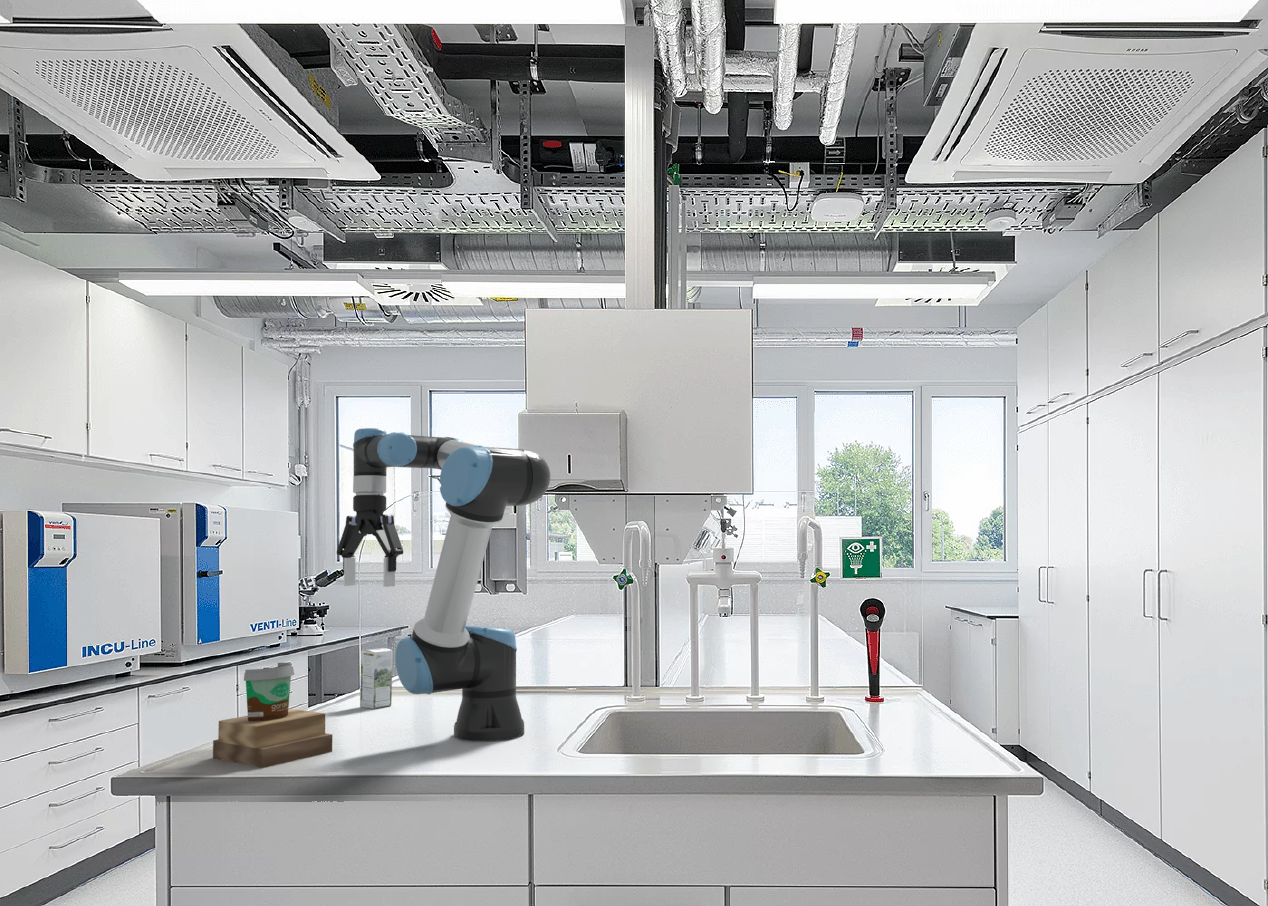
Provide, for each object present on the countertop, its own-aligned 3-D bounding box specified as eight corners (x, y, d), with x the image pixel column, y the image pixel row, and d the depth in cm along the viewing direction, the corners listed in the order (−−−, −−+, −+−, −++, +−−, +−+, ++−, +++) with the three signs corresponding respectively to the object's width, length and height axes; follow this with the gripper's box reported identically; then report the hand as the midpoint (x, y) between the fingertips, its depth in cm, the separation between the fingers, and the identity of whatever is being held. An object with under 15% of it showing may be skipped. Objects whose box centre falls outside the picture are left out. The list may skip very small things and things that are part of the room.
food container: (271, 722, 189) (271, 669, 190) (243, 722, 190) (243, 669, 191) (306, 711, 201) (306, 662, 202) (279, 711, 202) (279, 662, 203)
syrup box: (378, 704, 254) (378, 647, 255) (392, 706, 250) (392, 648, 251) (359, 707, 250) (360, 649, 251) (373, 709, 246) (374, 651, 247)
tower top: (325, 733, 198) (325, 713, 199) (256, 748, 185) (256, 726, 186) (287, 727, 205) (287, 708, 205) (218, 741, 192) (218, 720, 192)
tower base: (332, 754, 197) (332, 734, 198) (262, 771, 184) (263, 749, 184) (282, 746, 206) (282, 726, 206) (212, 761, 193) (213, 740, 193)
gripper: (419, 493, 226) (418, 586, 224) (347, 496, 239) (346, 584, 238) (394, 492, 219) (393, 587, 218) (322, 496, 233) (320, 585, 231)
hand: (369, 586), depth 228 cm, fingers open, 13 cm apart
